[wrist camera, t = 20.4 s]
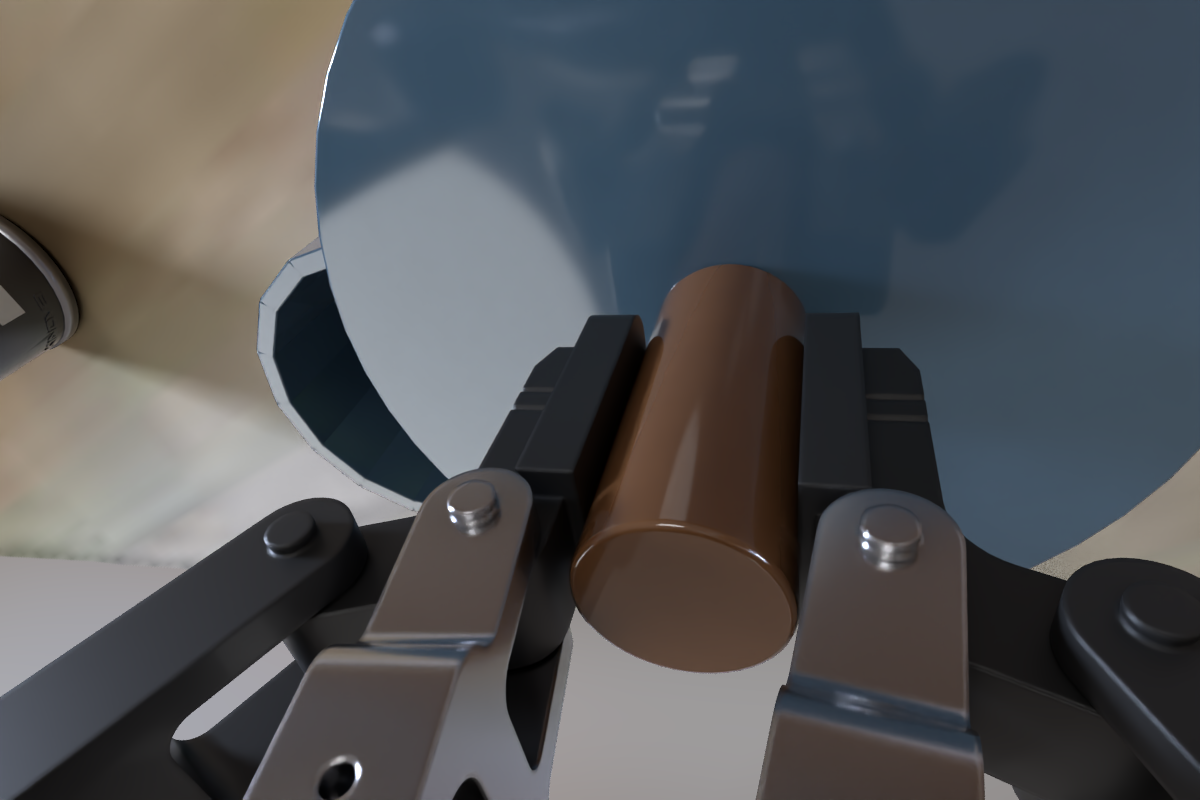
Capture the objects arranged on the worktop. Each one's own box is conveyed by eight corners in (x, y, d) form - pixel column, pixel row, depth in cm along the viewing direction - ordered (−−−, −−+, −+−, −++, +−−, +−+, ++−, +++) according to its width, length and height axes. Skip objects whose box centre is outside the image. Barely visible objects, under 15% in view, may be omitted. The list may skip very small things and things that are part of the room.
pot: (346, 338, 39) (250, 437, 33) (385, 104, 31) (265, 175, 24) (571, 443, 40) (520, 561, 34) (672, 243, 31) (630, 349, 25)
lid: (312, 402, 17) (88, 647, 12) (442, -547, 8) (-372, -1369, 2) (865, 654, 18) (882, 992, 12) (1618, 68, 8) (2946, 454, 3)
